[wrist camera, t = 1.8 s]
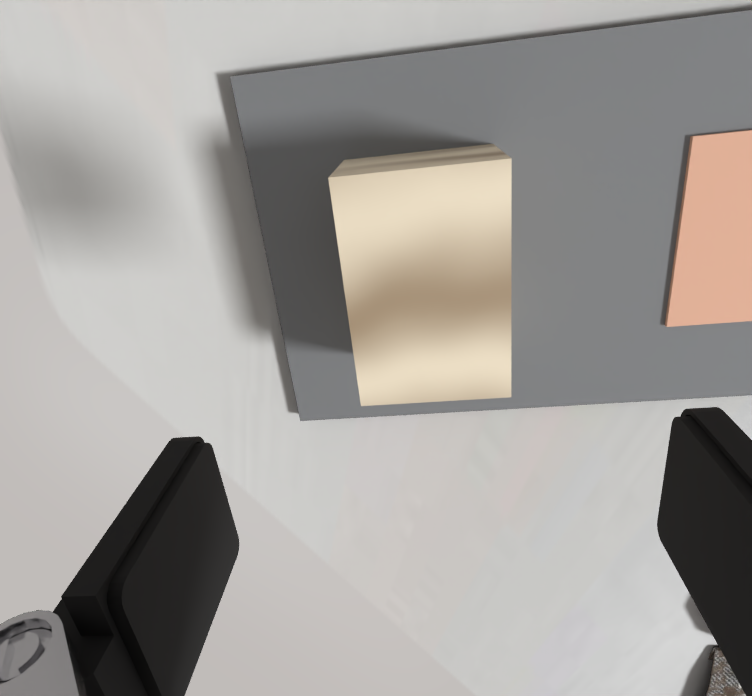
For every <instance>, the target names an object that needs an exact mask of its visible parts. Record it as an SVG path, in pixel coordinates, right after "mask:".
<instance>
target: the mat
mask: <svg viewBox="0 0 752 696" xmlns="http://www.w3.org/2000/svg"><path fill="white" fill-rule="evenodd" d="M230 79H231V84H232V89H233V94H234V99H235V104H236V109H237V113H238V118H239V123H240V128H241V133H242V138H243V143H244V148H245V153H246V157H247V162H248V167H249V172H250V177H251V182H252V187H253V192H254V197H255V201H256V206H257V211H258V216H259V221H260V226H261V231H262V236H263V241H264V245H265V250H266V255H267V260H268V265H269V270H270V275H271V280H272V285H273V289H274V294H275V299H276V304H277V309H278V314H279V319H280V324H281V329H282V333H283V338H284V343H285V348H286V353H287V358H288V363H289V368H290V373H291V377H292V382H293V387H294V392H295V397H296V402H297V407H298V412H299V417H300V421H307V420H325V419H342V418H360V417H377V416H395V415H412V414H430V413H448V412H465V411H483V410H500V409H518V408H535V407H553V406H570V405H588V404H605V403H623V402H641V401H658V400H676V399H693V398H711V397H728V396H746V395H752V10H746V11H739V12H731V13H723V14H715V15H707V16H699V17H692V18H684V19H676V20H668V21H660V22H652V23H645V24H637V25H629V26H621V27H613V28H606V29H598V30H590V31H582V32H574V33H566V34H559V35H551V36H543V37H535V38H527V39H519V40H512V41H504V42H496V43H488V44H480V45H472V46H465V47H457V48H449V49H441V50H433V51H425V52H418V53H410V54H402V55H394V56H386V57H379V58H371V59H363V60H355V61H347V62H339V63H332V64H324V65H316V66H308V67H300V68H292V69H285V70H277V71H269V72H261V73H253V74H245V75H238V76H230ZM486 144H494V145H495V146H497V147H498V148H499V149H500V150H502V151H503V152H504V153H505V154H507V155H508V156H509V157H510V158H512V200H511V397H508V398H491V399H474V400H457V401H440V402H423V403H406V404H389V405H372V406H361V403H360V396H359V389H358V382H357V375H356V368H355V361H354V354H353V347H352V340H351V333H350V326H349V319H348V312H347V305H346V299H345V292H344V285H343V278H342V271H341V264H340V257H339V250H338V243H337V236H336V229H335V222H334V215H333V208H332V201H331V194H330V187H329V180H328V177H329V176H330V175H331V174H332V173H333V172H334V171H335V169H336V168H337V167H338V166H339V165H340V164H341V163H342V162H343V160H348V159H357V158H366V157H376V156H385V155H394V154H403V153H412V152H422V151H431V150H440V149H449V148H459V147H468V146H477V145H486Z"/></svg>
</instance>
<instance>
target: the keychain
mask: <svg viewBox="0 0 752 696" xmlns="http://www.w3.org/2000/svg"><path fill="white" fill-rule="evenodd" d="M708 628H709V627H708ZM709 660H713V664H712V670H711V677H710V683H709V686H708V690H707V693H706V696H746V695H745V693H744V691H743V689H742V687H741V686H740V684H739V682H738V680H737V678H736V676H735V675H734V673H733V671H732V669H731V667H730V666H729V664H728V662H727V660H726V658H725V656H724V655H723V653H722V651H721V649H720V648H718V647H714V649H713V650H712V652H711V653H710V656H709Z"/></svg>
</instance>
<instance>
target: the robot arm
mask: <svg viewBox="0 0 752 696" xmlns="http://www.w3.org/2000/svg"><path fill="white" fill-rule="evenodd" d="M657 527H658V533H659V537H660V540H661V542H662V544H663V546H664V547H665V549H666V551H667V553H668V555H669V557H670V558H671V560H672V562H673V564H674V566H675V567H676V569H677V571H678V573H679V575H680V577H681V578H682V580H683V582H684V584H685V586H686V587H687V589H688V591H689V593H690V595H691V597H692V598H693V600H694V602H695V604H696V606H697V607H698V609H699V611H700V613H701V615H702V617H703V618H704V620H705V622H706V624H707V626H708V627H709V629H710V631H711V633H712V635H713V637H714V638H715V640H716V642H717V644H718V646H719V647H720V649H721V651H722V653H723V655H724V656H725V658H726V660H727V662H728V664H729V666H730V667H731V669H732V671H733V673H734V675H735V676H736V678H737V680H738V682H739V684H740V686H741V687H742V689H743V691H744V693H745V695H746V696H752V440H751V439H750V438H749V437H748V436H747V435H746V434H745V433H744V432H743V431H742V430H741V429H740V428H739V427H738V426H737V425H736V424H735V423H734V421H733V420H732V419H731V418H730V417H729V416H728V415H727V414H726V413H725V412H724V411H723V410H721V409H720V408H717V407H711V408H693V409H685V410H684V411H683V412H682V414H681V417H675V418H674V419H673V421H672V426H671V433H670V440H669V446H668V453H667V460H666V467H665V473H664V480H663V487H662V494H661V500H660V507H659V514H658V521H657ZM238 551H239V539H238V534H237V530H236V527H235V524H234V520H233V517H232V513H231V510H230V507H229V503H228V499H227V496H226V492H225V489H224V486H223V482H222V478H221V475H220V472H219V468H218V465H217V461H216V458H215V454H214V451H213V448H212V446H211V444H210V443H204V440H203V439H202V438H201V437H182V438H173V439H171V441H169V442H168V444H167V445H166V447H165V448H164V450H163V451H162V452H161V454H160V455H159V457H158V458H157V460H156V461H155V463H154V464H153V465H152V467H151V468H150V470H149V471H148V473H147V474H146V475H145V477H144V478H143V480H142V481H141V483H140V484H139V485H138V487H137V488H136V490H135V491H134V493H133V494H132V496H131V497H130V498H129V500H128V501H127V503H126V505H125V506H124V507H123V509H122V510H121V511H120V513H119V514H118V516H117V517H116V519H115V520H114V521H113V523H112V525H111V526H110V527H109V529H108V530H107V532H106V533H105V535H104V536H103V537H102V539H101V540H100V542H99V543H98V545H97V546H96V547H95V549H94V550H93V552H92V553H91V555H90V556H89V557H88V559H87V560H86V562H85V563H84V565H83V566H82V568H81V569H80V570H79V572H78V573H77V575H76V576H75V578H74V579H73V581H72V582H71V583H70V585H69V586H68V588H67V589H66V591H65V592H64V593H63V595H62V596H61V597H62V600H61V601H60V602H59V604H58V605H57V607H56V608H55V610H54V611H53V612H51V611H42V610H36V611H32V612H27V613H23V614H21V615H18V616H16V617H13V618H11V619H8V620H7V621H5V622H4V623H2V624H0V696H184V695H185V693H186V690H187V687H188V685H189V682H190V679H191V677H192V674H193V672H194V669H195V666H196V664H197V661H198V658H199V656H200V653H201V650H202V648H203V645H204V643H205V640H206V637H207V635H208V632H209V629H210V626H211V624H212V621H213V619H214V616H215V614H216V611H217V608H218V605H219V603H220V600H221V598H222V595H223V592H224V590H225V587H226V584H227V582H228V579H229V576H230V574H231V571H232V569H233V565H234V563H235V560H236V558H237V555H238Z"/></svg>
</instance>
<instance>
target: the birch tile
mask: <svg viewBox="0 0 752 696" xmlns="http://www.w3.org/2000/svg"><path fill="white" fill-rule="evenodd" d="M328 180H329V187H330V194H331V201H332V208H333V215H334V222H335V229H336V236H337V243H338V250H339V257H340V264H341V271H342V278H343V285H344V292H345V299H346V305H347V312H348V319H349V326H350V333H351V340H352V347H353V354H354V361H355V368H356V375H357V382H358V389H359V396H360V403H361V406H372V405H389V404H406V403H423V402H440V401H457V400H474V399H491V398H508V397H511V200H512V158H510V157H509V156H508V155H507V154H505V153H504V152H503V151H502V150H500V149H499V148H498V147H497V146H495V145H494V144H486V145H477V146H468V147H459V148H449V149H440V150H431V151H422V152H412V153H403V154H394V155H385V156H376V157H366V158H357V159H348V160H343V162H342V163H341V164H340V165H339V166H338V167H337V168H336V169H335V171H334V172H333V173H332V174H331V175H330V176H329V177H328Z"/></svg>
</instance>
